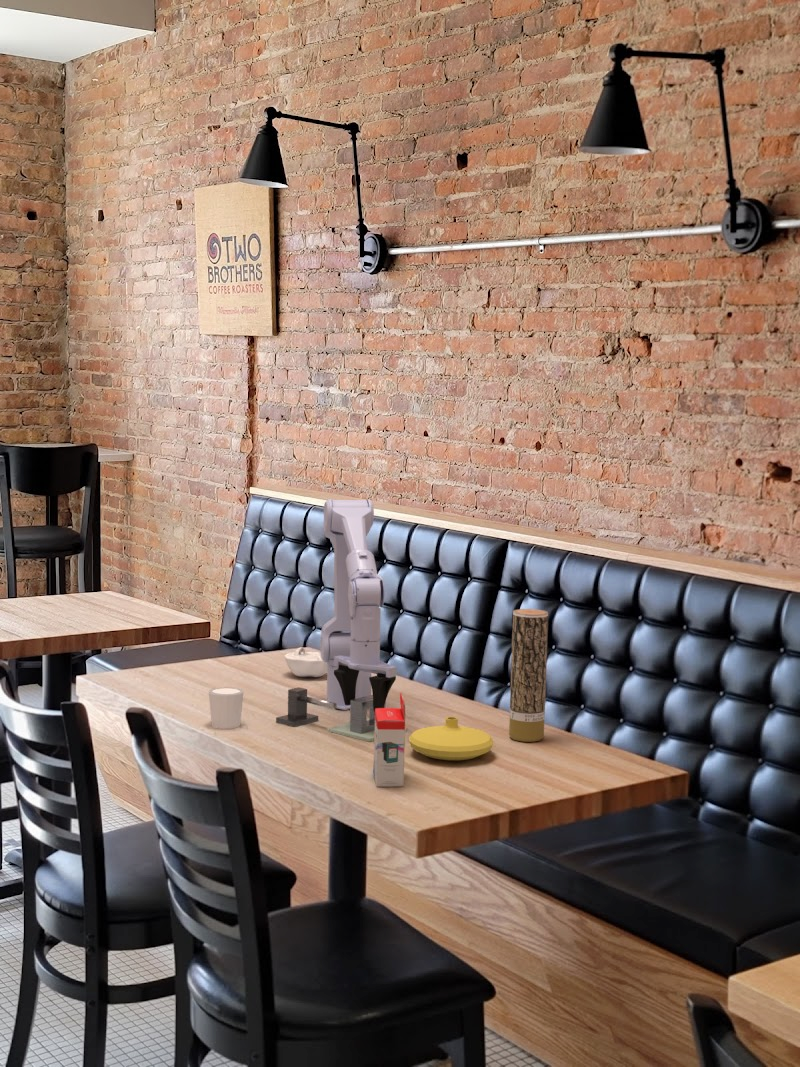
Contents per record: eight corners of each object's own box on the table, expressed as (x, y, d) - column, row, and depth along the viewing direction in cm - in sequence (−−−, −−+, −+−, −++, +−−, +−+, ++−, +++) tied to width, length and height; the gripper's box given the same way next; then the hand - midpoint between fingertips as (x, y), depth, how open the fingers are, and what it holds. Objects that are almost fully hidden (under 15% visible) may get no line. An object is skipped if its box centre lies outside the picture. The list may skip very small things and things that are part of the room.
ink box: (372, 772, 236) (374, 691, 234) (400, 772, 236) (402, 691, 235) (375, 787, 228) (377, 703, 226) (404, 787, 228) (406, 703, 226)
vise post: (300, 716, 274) (301, 684, 273) (346, 727, 266) (346, 695, 265) (276, 722, 269) (276, 690, 268) (321, 734, 261) (322, 701, 260)
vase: (478, 771, 238) (480, 733, 238) (396, 761, 244) (396, 723, 243) (503, 749, 253) (504, 713, 252) (424, 740, 258) (425, 704, 258)
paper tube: (547, 736, 263) (551, 610, 260) (539, 744, 257) (543, 616, 254) (513, 732, 265) (517, 607, 262) (505, 740, 259) (509, 613, 256)
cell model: (320, 684, 304) (321, 654, 303) (275, 678, 309) (275, 649, 308) (341, 675, 313) (342, 647, 312) (296, 670, 318) (297, 642, 317)
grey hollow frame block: (373, 724, 266) (374, 694, 266) (385, 727, 264) (385, 696, 264) (350, 731, 261) (350, 700, 260) (361, 734, 259) (362, 702, 258)
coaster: (365, 721, 271) (365, 718, 271) (406, 731, 264) (407, 728, 264) (328, 731, 263) (328, 728, 263) (369, 741, 256) (370, 738, 256)
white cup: (237, 730, 262) (237, 695, 261) (203, 728, 263) (203, 693, 262) (247, 722, 269) (248, 688, 268) (215, 719, 270) (215, 685, 269)
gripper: (323, 636, 261) (322, 704, 263) (379, 647, 252) (378, 718, 254) (348, 632, 267) (347, 698, 268) (403, 642, 257) (402, 711, 259)
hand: (363, 707), depth 261 cm, fingers open, 7 cm apart
